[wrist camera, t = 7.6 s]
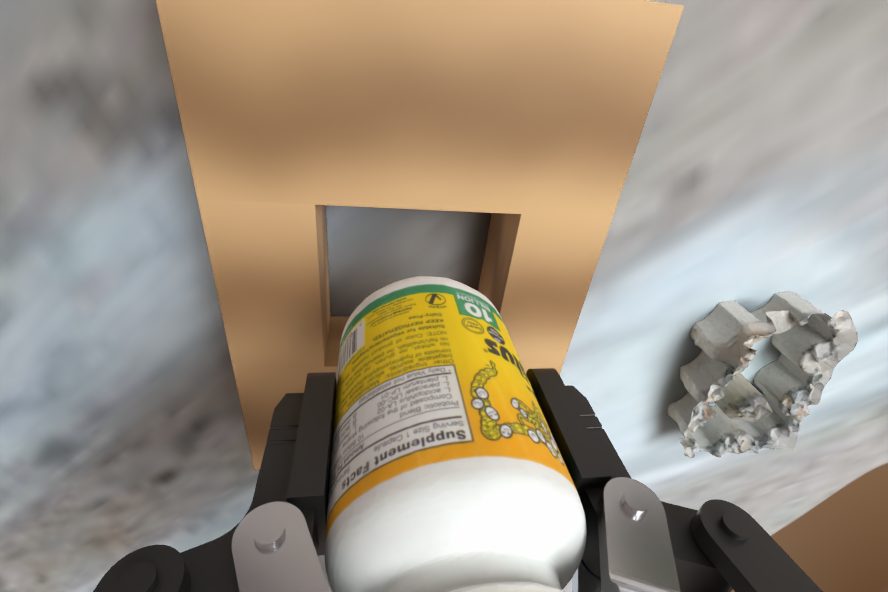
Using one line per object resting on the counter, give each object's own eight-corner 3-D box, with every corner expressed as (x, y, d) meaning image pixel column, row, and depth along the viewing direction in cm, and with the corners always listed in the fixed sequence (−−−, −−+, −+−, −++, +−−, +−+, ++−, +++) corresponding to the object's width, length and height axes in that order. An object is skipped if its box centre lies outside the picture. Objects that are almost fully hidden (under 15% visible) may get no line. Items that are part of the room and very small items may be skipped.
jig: (192, -56, 13) (131, -77, 10) (624, 6, 15) (692, 5, 12) (268, 413, 23) (252, 477, 20) (514, 404, 26) (534, 460, 23)
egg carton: (696, 295, 24) (750, 342, 20) (819, 281, 24) (892, 324, 21) (651, 425, 30) (688, 479, 26) (752, 411, 30) (800, 461, 27)
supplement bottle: (310, 307, 13) (221, 767, 5) (477, 244, 13) (657, 635, 5) (381, 415, 16) (395, 809, 8) (518, 366, 16) (670, 730, 8)
